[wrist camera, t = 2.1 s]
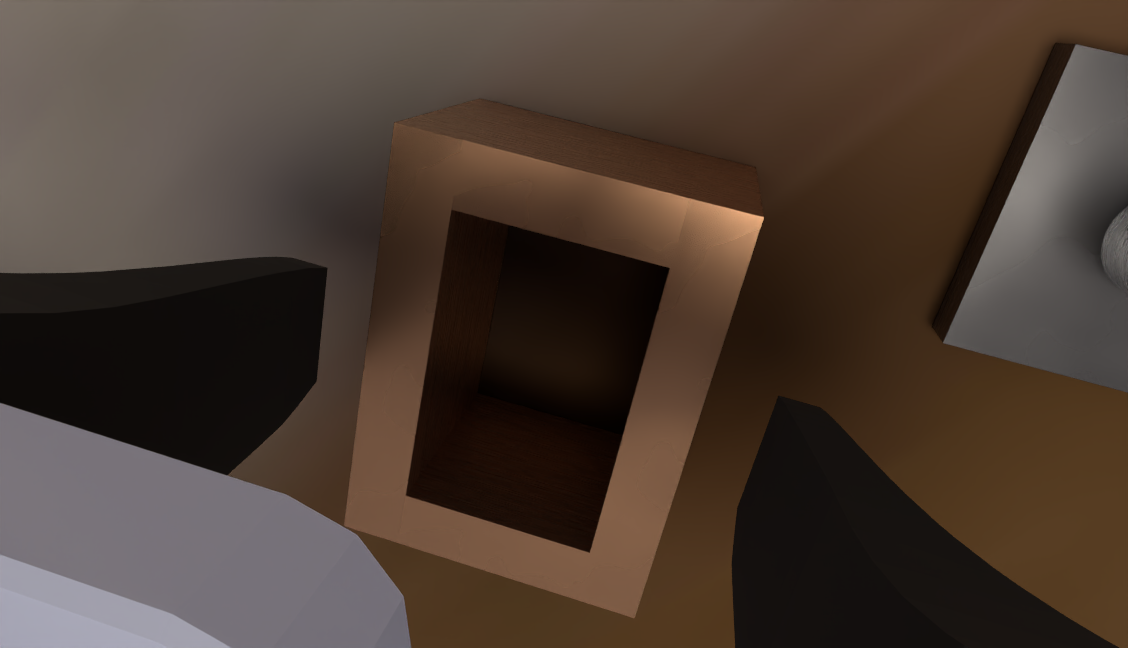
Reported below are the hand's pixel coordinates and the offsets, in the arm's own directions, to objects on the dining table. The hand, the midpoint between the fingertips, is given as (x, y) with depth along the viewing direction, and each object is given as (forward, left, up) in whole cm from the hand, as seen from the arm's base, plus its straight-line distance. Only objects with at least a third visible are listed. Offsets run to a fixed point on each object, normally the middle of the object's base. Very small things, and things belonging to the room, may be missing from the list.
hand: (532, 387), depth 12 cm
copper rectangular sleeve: (0, 0, -4) cm, 4 cm away
